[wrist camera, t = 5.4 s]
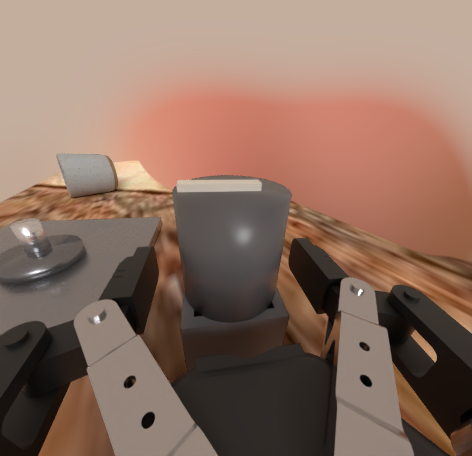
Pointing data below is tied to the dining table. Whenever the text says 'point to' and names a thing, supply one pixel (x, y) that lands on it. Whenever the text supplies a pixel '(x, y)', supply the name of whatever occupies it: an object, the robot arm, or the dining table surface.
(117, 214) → the dining table surface
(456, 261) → the dining table surface
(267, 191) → the knob
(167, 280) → the dining table surface
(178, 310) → the dining table surface
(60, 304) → the base plate
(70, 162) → the ceramic mug
